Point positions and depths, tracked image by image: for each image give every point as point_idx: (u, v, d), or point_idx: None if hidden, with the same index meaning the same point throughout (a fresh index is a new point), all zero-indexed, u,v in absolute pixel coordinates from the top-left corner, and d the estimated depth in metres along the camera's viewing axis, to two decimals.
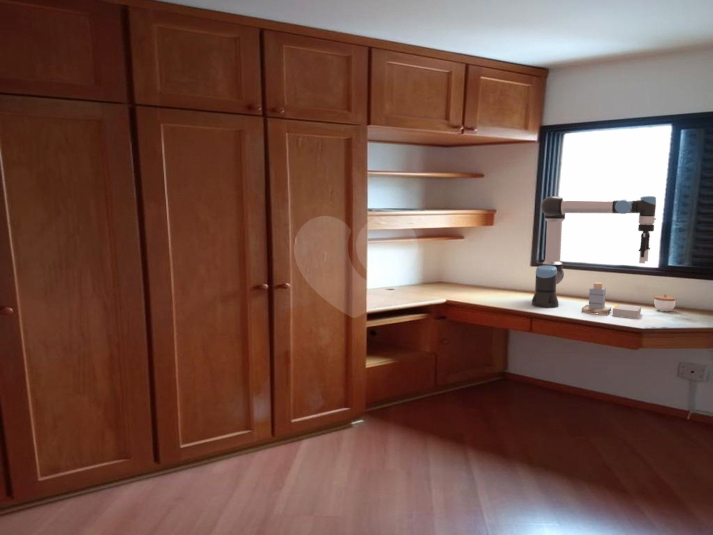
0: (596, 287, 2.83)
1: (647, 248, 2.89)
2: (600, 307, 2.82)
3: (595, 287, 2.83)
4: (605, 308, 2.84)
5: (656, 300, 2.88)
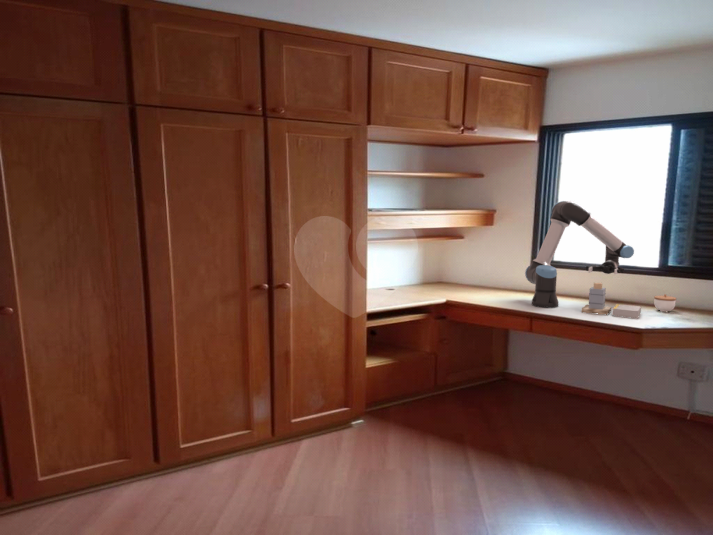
0: (596, 287, 2.83)
1: (591, 270, 3.02)
2: (600, 307, 2.82)
3: (595, 287, 2.83)
4: (605, 308, 2.84)
5: (656, 300, 2.88)
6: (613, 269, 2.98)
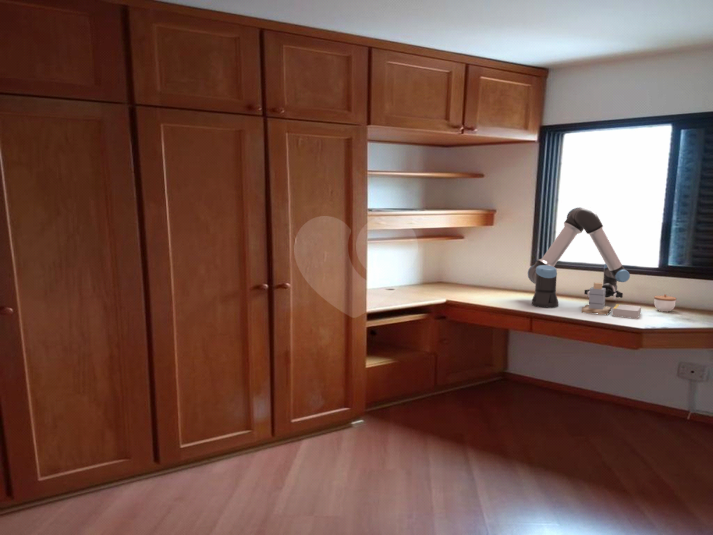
0: (596, 287, 2.83)
1: None
2: (600, 307, 2.82)
3: (595, 287, 2.83)
4: (605, 308, 2.84)
5: (656, 300, 2.88)
6: (612, 293, 2.96)
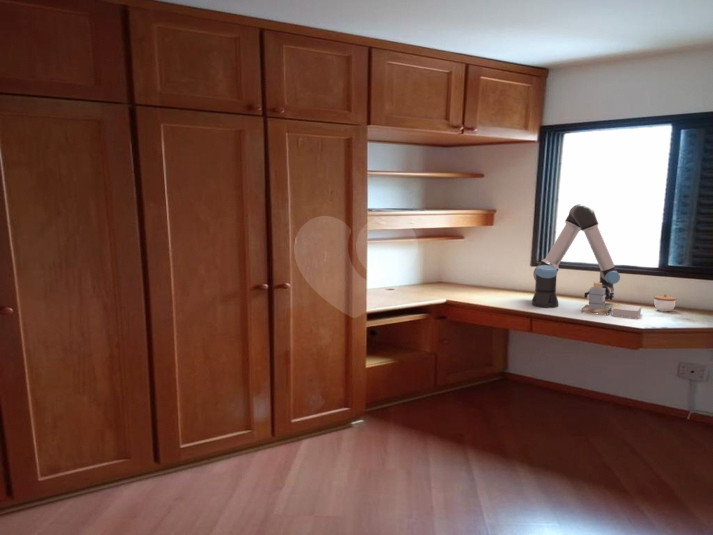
0: (596, 287, 2.83)
1: None
2: (600, 307, 2.82)
3: (595, 287, 2.83)
4: (605, 308, 2.84)
5: (656, 300, 2.88)
6: None
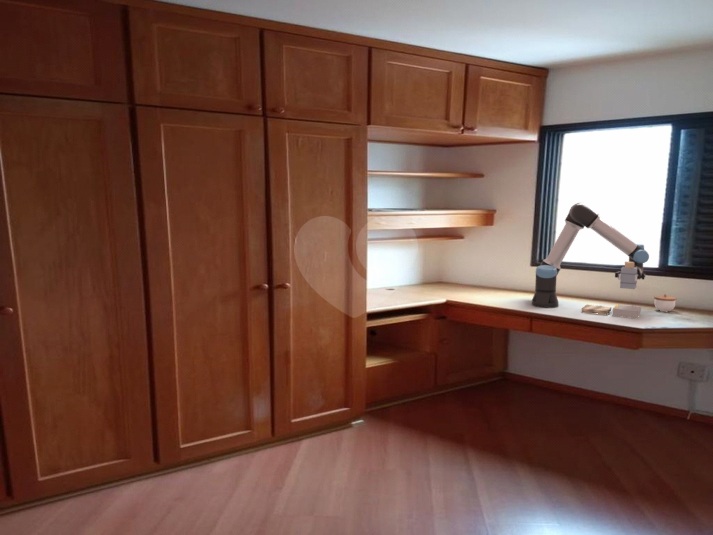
0: (627, 266, 2.74)
1: None
2: (632, 287, 2.73)
3: (627, 266, 2.74)
4: (605, 308, 2.84)
5: (656, 300, 2.88)
6: None
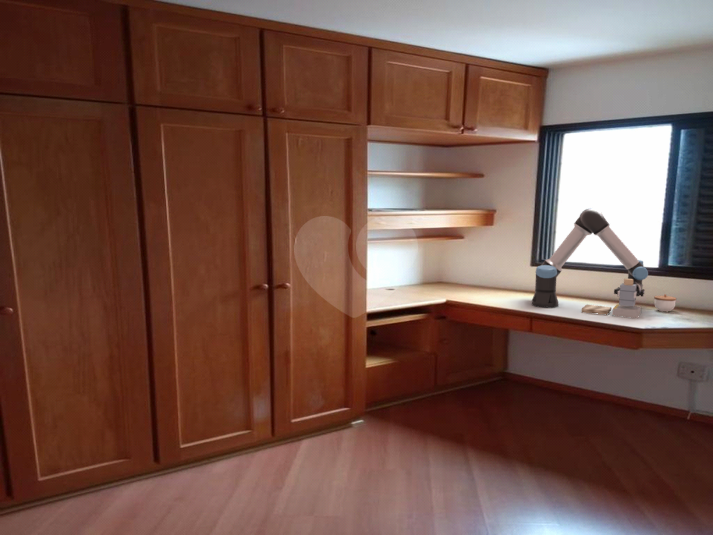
0: (626, 283, 2.75)
1: None
2: (631, 304, 2.74)
3: (626, 283, 2.75)
4: (605, 308, 2.84)
5: (656, 300, 2.88)
6: None
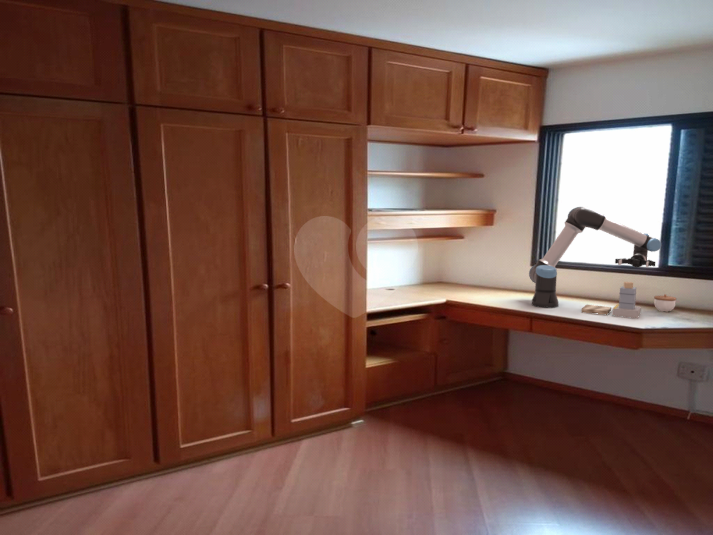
0: (626, 286, 2.75)
1: (621, 263, 2.94)
2: (631, 307, 2.74)
3: (626, 286, 2.76)
4: (605, 308, 2.84)
5: (656, 300, 2.88)
6: (643, 262, 2.90)
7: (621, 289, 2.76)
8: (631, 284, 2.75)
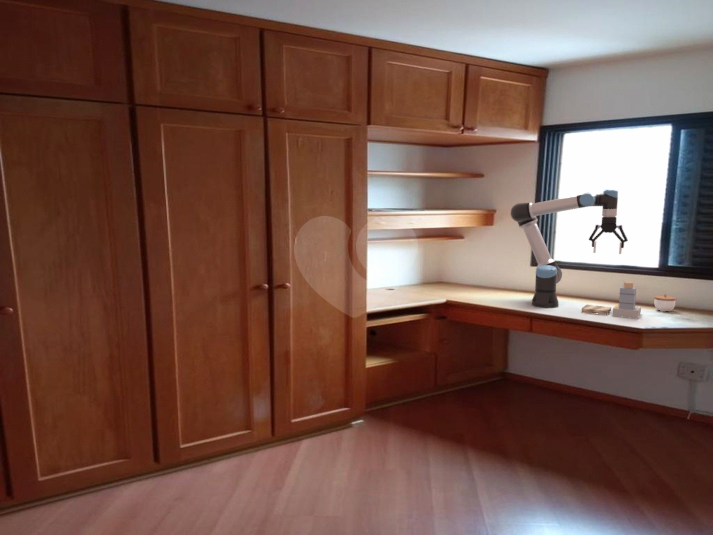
0: (626, 286, 2.75)
1: None
2: (631, 307, 2.74)
3: (626, 286, 2.76)
4: (605, 308, 2.84)
5: (656, 300, 2.88)
6: (616, 235, 2.93)
7: (621, 289, 2.76)
8: (631, 284, 2.75)
